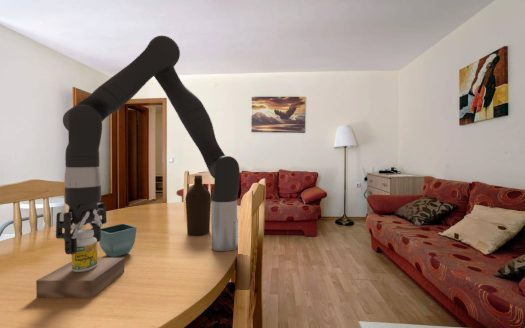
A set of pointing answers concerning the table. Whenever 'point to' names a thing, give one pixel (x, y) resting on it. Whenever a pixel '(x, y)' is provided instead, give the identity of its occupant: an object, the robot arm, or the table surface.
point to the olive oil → (198, 208)
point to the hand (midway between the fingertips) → (84, 247)
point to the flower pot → (117, 239)
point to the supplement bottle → (85, 251)
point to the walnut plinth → (79, 280)
